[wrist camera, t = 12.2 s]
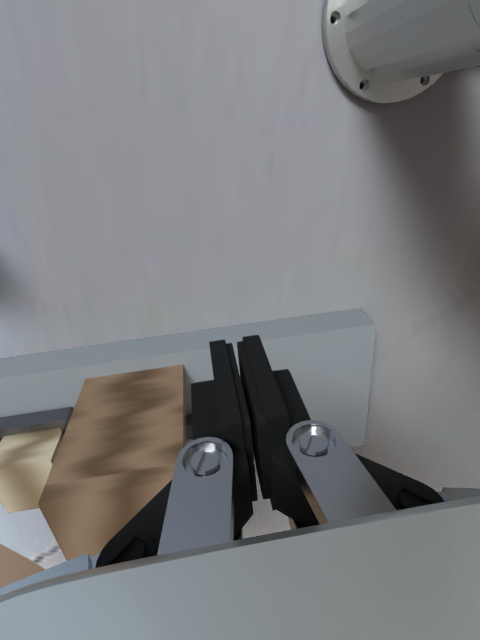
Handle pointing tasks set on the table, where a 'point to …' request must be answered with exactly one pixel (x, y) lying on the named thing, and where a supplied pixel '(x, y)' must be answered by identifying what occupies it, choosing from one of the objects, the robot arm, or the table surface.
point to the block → (26, 467)
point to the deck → (194, 354)
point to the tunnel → (114, 456)
